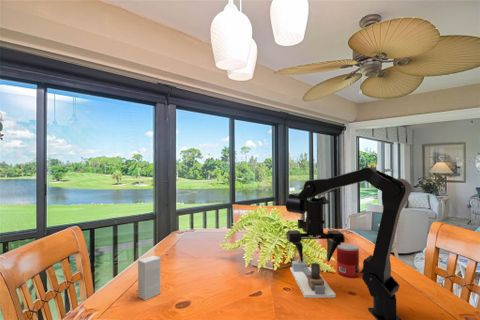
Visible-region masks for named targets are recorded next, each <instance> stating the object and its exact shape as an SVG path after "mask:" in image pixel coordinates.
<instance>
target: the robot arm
mask: <svg viewBox="0 0 480 320" xmlns="http://www.w3.org/2000/svg"><path fill="white" fill-rule="evenodd" d="M363 182H367V183H369V184H370V185H371V186H372V187H374V188H375V189H377V190H379V191H380V192H381V203H382V214H381V218H380V223H379V226H378V230H377V231H378V232H377V235H376V239H375V244H374V249H373V252H372V255H371V254H370V255H369V256H367V257H366V258H365V259H363V261H362V269H361V271H359V274H362V275H361V276H362V281H363V282H364V284H365V285H366V287H367V289H368V292H369V295H370V297H372V307H367V310H368V311H369V312H370V314H371V315H372V316H373V317H374V318H375V319H376V320H403V319H402V318H401V317H400V316H399V315H398V314H397V295H396V293H397V292H398V291H399V289H400V284H399V283H398V282H397V281H396V279H395V278H394V277H393V276H392V265H391V253H392V249H393V246H394V245H393V244H394V241H395V236H396V233H397V229H398V226H399V225H398V224H399V219H400V215H401V212H402V210H403V208H404V207H405V205H406V203H407V201H408V200H409V197H410V195H411V193H412V189H413V188H412V185H411V183H410V182H409V181H407V179H405V178H395V177H394V176H392V175H389V174H386V173H384V172H382V171H380V170H378V169H376V168H375V167H372V166H369V167H368V166H365V167H362V168H361V169H358V170H357V169H356V170H354V171H351V172H345V173H343V174H340V175H336V176H332V177H328V178H319V179H318V178H317V179H308V180H306V181H305V182H304V185H303V188H302V190H301V191H300V192H299V194H296V193H289V195H288V198H287V200H286V202H285V209H286V211H287V212H288V213H293V214H300V215H304V214H305V213H306V217H305V221H304V219H297V229H299V230H300V229H301V230H302V232H300V231H299V230H295V229H294V230H290V229H288V230H287V231H286V239H287V240H288V242H289V243H291V244H292V245H293V246H295V248H296V251H297V253H298V254H299V257H300V259H299V261H301V262H303V261H304V255H303V251H304V250H303V243H302V240H326V242H327V244H326V245H327V248H326V249H327V251H326V261H327V262H328V263H329V262H330V261H331V259H332V257H333V254H334V252H335V251H336V250H337V246H338V245H341V243H346V239H345V234H344V233H343V232H341V231H339V230H335V229H334V230H329V229H328V230H327V232H326V233H325V232H324V225H325V220H324V205H329V204H330V201H329V200H328V199H327V198H326V196H323V195H325V194H328V193H330V192H331V191H334V190H336V189H338V188H339V189H340V188H342V187H346V186H351V185H354V184H355V185H356V184H359V183H363ZM319 196H321V197H319ZM318 197H319V198H318Z"/></svg>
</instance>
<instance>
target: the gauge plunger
mask: <svg viewBox="0 0 480 320" xmlns="http://www.w3.org/2000/svg"><path fill="white" fill-rule="evenodd" d="M295 259H297V260H300V257H299V254H298V252H296V253H295Z"/></svg>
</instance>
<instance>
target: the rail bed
mask: <svg viewBox="0 0 480 320" xmlns="http://www.w3.org/2000/svg"><path fill="white" fill-rule="evenodd" d="M310 267H311V266H307V263H306V261H305V260H303V262H301V260H296V261H295V260H294V261H293V260H292V261H291V266H290V268H289V271H290V273H291V274H292V276H293V278H294V281H295V282H296V284H297V285H298V288H299V289H300V292H301V293H302V295H303V296H304V298H305V299H314V298H315V299H317V298H318V299H319V298H320V299H321V298H322V299H323V298H325V299H326V298H329V299H331V298H336V296H337V295H336V293H335V292H334V291H333V289H332V288H331V287H330V286H329V284H328V283H327V281H326V280H325V279H324V278H323V276H322V275H321V274H320V276H321V277H322V279H323V280H324V286H321V285H314V290H312V289H311V288H310V286H309V285H308V279H307V275H311V268H310Z"/></svg>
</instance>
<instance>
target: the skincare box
mask: <svg viewBox="0 0 480 320" xmlns="http://www.w3.org/2000/svg"><path fill="white" fill-rule="evenodd" d="M161 259H162V258H161V257H159V256H157V255H151V256H148V257H144V258H140V259H138V261H137V281H138V282H137V296H138V298H140V299H141V300H143V301H147V300H149V299H151V298H154V297H156V296H158V295H160V294H161V291H162V290H161V287H162V284H161V277H162V276H161V272H162V271H161V270H162V269H161V268H162V267H161V263H162V262H161Z"/></svg>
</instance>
